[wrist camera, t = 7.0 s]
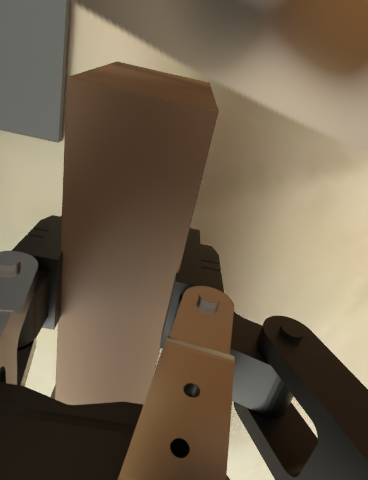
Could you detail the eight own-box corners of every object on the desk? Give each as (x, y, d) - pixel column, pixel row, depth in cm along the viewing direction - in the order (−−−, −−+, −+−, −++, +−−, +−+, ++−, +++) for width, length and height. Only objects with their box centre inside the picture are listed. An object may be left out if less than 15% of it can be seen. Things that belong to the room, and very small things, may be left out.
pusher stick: (56, 395, 19) (16, 498, 15) (69, 50, 11) (-13, 59, 7) (162, 412, 20) (153, 516, 16) (254, 93, 11) (290, 126, 7)
